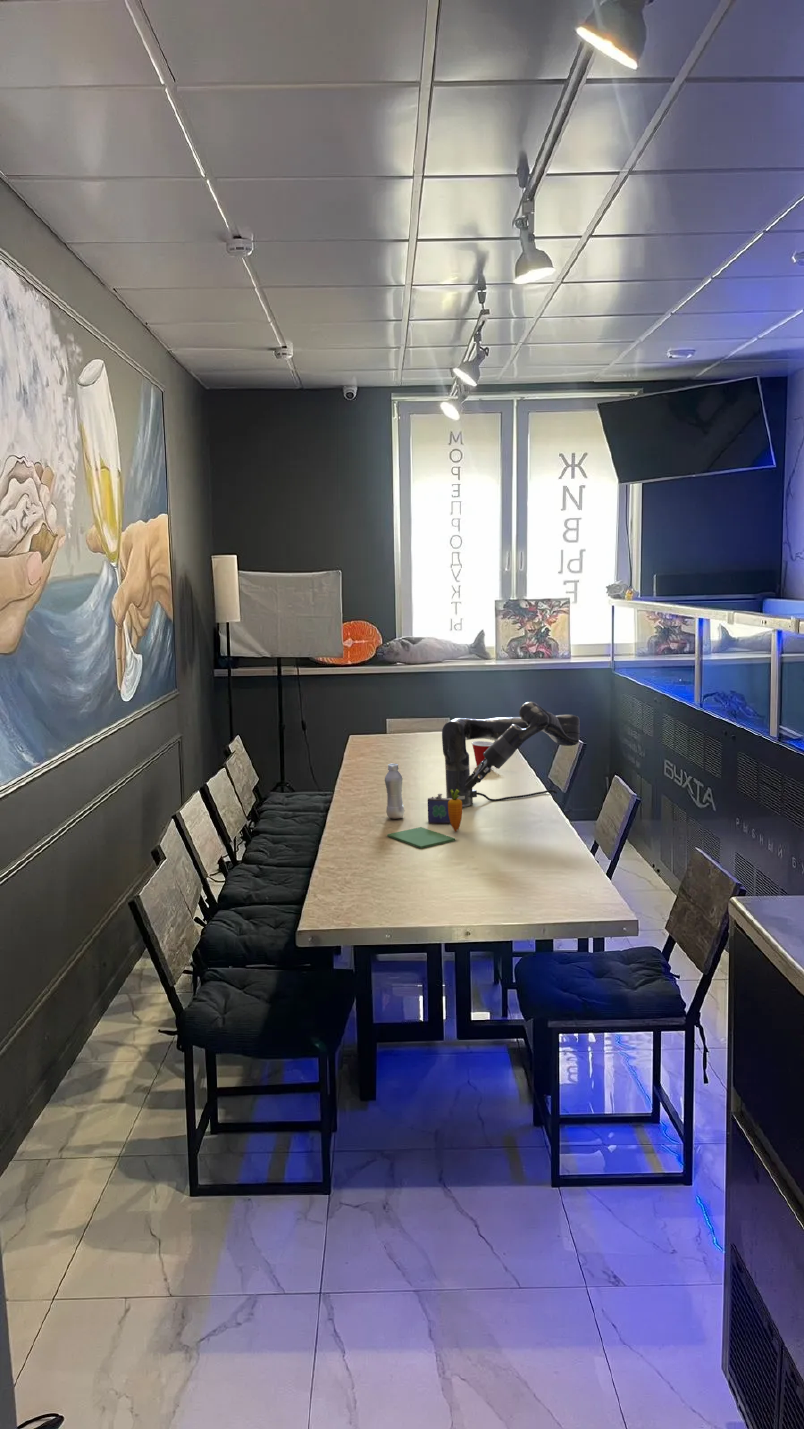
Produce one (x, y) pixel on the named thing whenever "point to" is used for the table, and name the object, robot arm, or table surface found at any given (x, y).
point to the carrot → (455, 810)
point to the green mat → (421, 837)
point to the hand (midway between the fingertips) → (467, 785)
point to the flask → (438, 810)
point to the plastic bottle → (394, 792)
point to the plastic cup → (480, 750)
